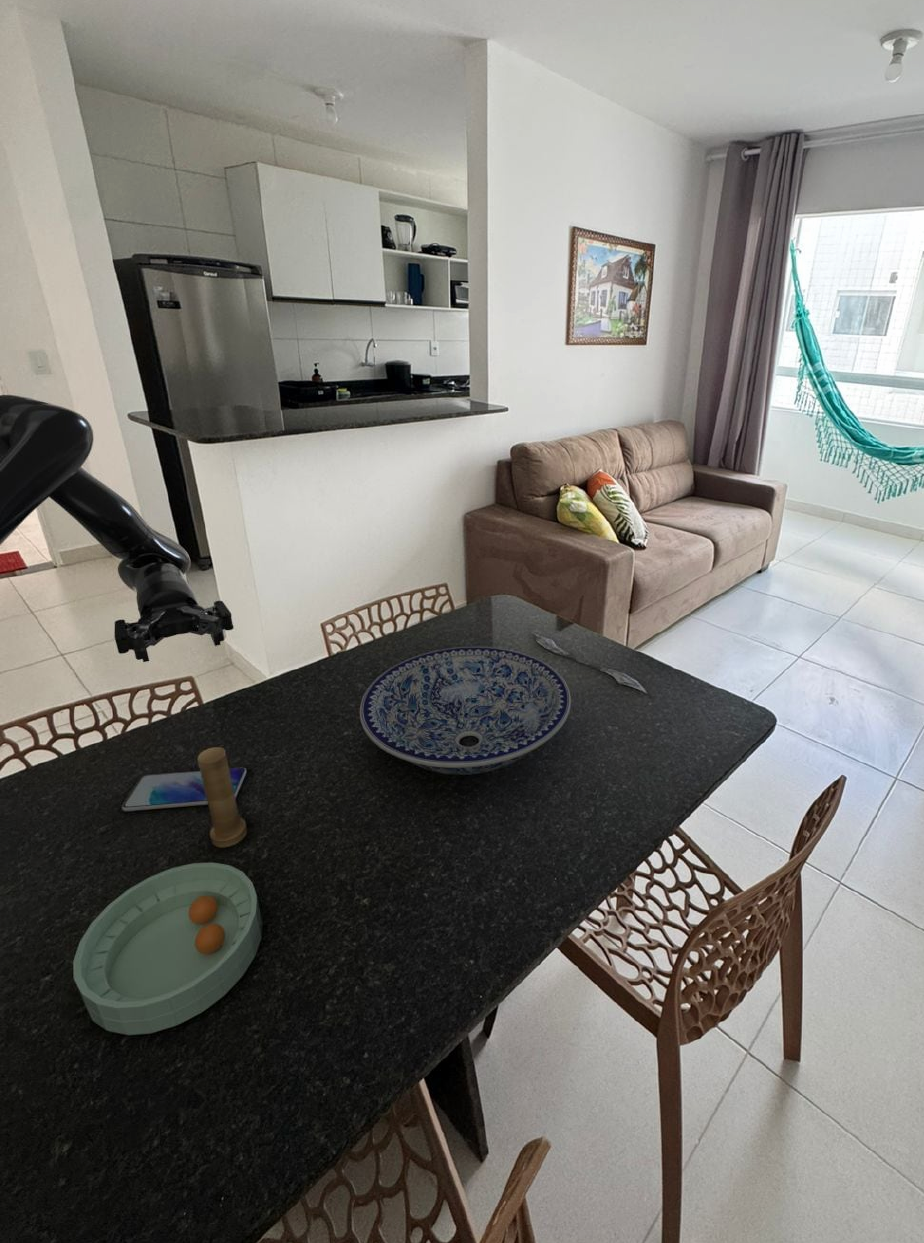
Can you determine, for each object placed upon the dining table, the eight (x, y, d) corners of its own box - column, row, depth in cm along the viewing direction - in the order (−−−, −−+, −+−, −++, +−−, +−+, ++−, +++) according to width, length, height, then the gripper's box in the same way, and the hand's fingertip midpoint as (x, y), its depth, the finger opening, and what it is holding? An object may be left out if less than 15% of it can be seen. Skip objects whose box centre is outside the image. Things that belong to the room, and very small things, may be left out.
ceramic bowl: (509, 668, 130) (510, 626, 126) (607, 767, 104) (612, 718, 100) (339, 718, 112) (333, 670, 108) (407, 852, 86) (403, 796, 82)
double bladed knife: (534, 633, 144) (521, 641, 140) (535, 631, 143) (521, 639, 140) (657, 685, 127) (645, 695, 123) (657, 682, 127) (645, 693, 123)
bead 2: (204, 920, 73) (206, 947, 73) (187, 932, 70) (189, 960, 70) (229, 917, 73) (231, 944, 72) (213, 929, 70) (215, 957, 69)
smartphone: (141, 774, 96) (247, 766, 98) (142, 779, 96) (248, 771, 99) (119, 808, 89) (233, 799, 92) (120, 813, 89) (234, 803, 92)
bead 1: (193, 894, 76) (218, 901, 77) (180, 922, 74) (206, 928, 75) (200, 890, 74) (225, 897, 75) (187, 918, 72) (213, 925, 73)
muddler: (204, 840, 86) (184, 759, 80) (231, 818, 90) (214, 740, 84) (227, 852, 85) (208, 770, 79) (254, 829, 88) (238, 750, 83)
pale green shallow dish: (48, 992, 67) (34, 961, 65) (194, 871, 81) (186, 843, 79) (159, 1069, 61) (148, 1038, 59) (295, 924, 76) (289, 895, 74)
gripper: (105, 589, 92) (112, 636, 80) (214, 571, 100) (235, 611, 88) (117, 634, 95) (125, 686, 83) (222, 613, 103) (243, 657, 91)
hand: (182, 647), depth 86 cm, fingers open, 8 cm apart
